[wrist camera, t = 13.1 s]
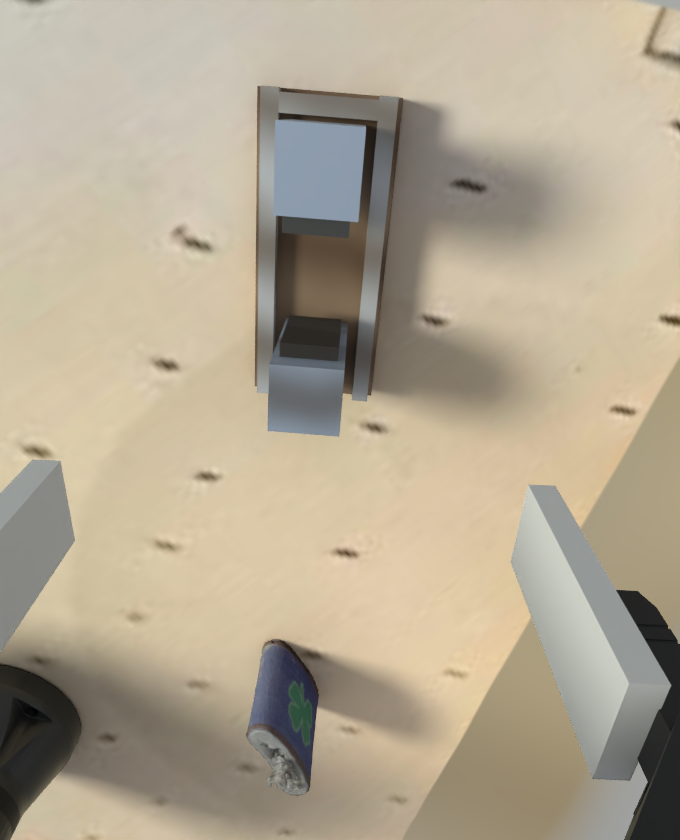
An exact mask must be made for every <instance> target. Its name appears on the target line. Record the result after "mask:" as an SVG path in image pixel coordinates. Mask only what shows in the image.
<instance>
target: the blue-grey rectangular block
mask: <svg viewBox="0 0 680 840" xmlns="http://www.w3.org/2000/svg"><path fill="white" fill-rule="evenodd" d="M365 136H366V126H365V125H358V124H345V123H333V122H321V121H309V120H297V119H287V120H275V156H274V205H273V215H276V216H282V233H290V234H302V235H315V236H327V237H339V238H349V229H350V222H358V219H359V207H360V195H361V183H362V171H363V160H364V148H365Z"/></svg>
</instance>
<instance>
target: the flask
mask: <svg viewBox="0 0 680 840" xmlns="http://www.w3.org/2000/svg"><path fill="white" fill-rule="evenodd" d="M271 641H273V642H274V643H272V642H270V641H268V642H267V643H266V642H265V644H264V646H263V649H262V656H261V660H260V668H259V674H258V680H257V685H256V689H255V697H254V702H253V707H252V712H251V718H250V723H249V726H248V731H247V734H246V736H247V739H248V741H249V742H250V744H251V745H253V746H254V747H255V748H256V750H258V751H259V752H260V753H261V754H262V756H263V757H264V758H265V759H266V760H267V762H268V763H269V764H270V766H271V767H272V769H271V773H272V774H273V775H271V776H269V777H268V779H267V780H268V786H269V787H272V785H271V783H277V787H279V788H280V789H282V790H283V791H284V792H285V793H288V794H290V795H296V796H299V795H303V794H305V793H306V792H308V791H309V788H310V779H311V765H312V753H313V741H314V732H315V721H316V713H317V705H318V698H319V694H318V689H317V686H316V683H315V681H314V679H313V677H312V674H310V672H309V670H308V669H307V668H306V667H305V665H304V663H303V662H302V661H301V659H300V658H299V657H298V656H297V655H296V654H295V652H294V651H293V650H292V648H291V647H290V646H288V645H287V644H285V643H284V642H282V641H281V640H276V639H273V640H271Z"/></svg>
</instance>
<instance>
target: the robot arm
mask: <svg viewBox="0 0 680 840" xmlns="http://www.w3.org/2000/svg"><path fill="white" fill-rule="evenodd" d="M74 541H75V538H74V533H73V527H72V522H71V517H70V511H69V506H68V500H67V495H66V489H65V484H64V478H63V473H62V467H61V462H60V461H51V460H32V461H31V462H30V463H29V464H28V465H27V466H26V467H25V468H24V469H23V470H22V471H21V472H20V473H19V475H18V476H17V477H16V478H15V479H14V480H13V481H12V482H11V483H10V484H9V485H8V486H7V487H6V488H5V489H4V490H3V491H2V492H1V493H0V653H1V651H2V650H3V648H4V647H5V645H6V644H7V642H8V641H9V639H10V638H11V636H12V635H13V633H14V632H15V630H16V629H17V627H18V626H19V624H20V623H21V621H22V619H23V618H24V616H25V615H26V613H27V612H28V610H29V609H30V607H31V606H32V604H33V603H34V601H35V600H36V598H37V597H38V595H39V594H40V592H41V591H42V589H43V588H44V586H45V585H46V583H47V582H48V580H49V579H50V577H51V576H52V574H53V573H54V571H55V570H56V568H57V567H58V565H59V564H60V562H61V561H62V559H63V558H64V556H65V555H66V553H67V552H68V550H69V549H70V547H71V546H72V544H73V543H74ZM511 564H512V567H513V569H514V572H515V574H516V577H517V580H518V582H519V585H520V588H521V590H522V593H523V596H524V598H525V601H526V604H527V606H528V609H529V612H530V614H531V617H532V620H533V622H534V625H535V628H536V630H537V633H538V636H539V638H540V641H541V644H542V646H543V649H544V651H545V654H546V657H547V659H548V662H549V664H550V667H551V670H552V673H553V675H554V678H555V681H556V683H557V686H558V689H559V691H560V694H561V697H562V699H563V702H564V704H565V707H566V710H567V713H568V715H569V718H570V721H571V723H572V726H573V729H574V731H575V734H576V736H577V739H578V741H579V744H580V747H581V750H582V752H583V755H584V758H585V760H586V763H587V766H588V768H589V771H590V774H591V776H592V779H606V780H629V781H630V780H631V778H632V775H633V773H634V771H635V768H636V766H637V764H638V761H639V763H640V765H641V768H642V770H643V772H644V774H645V776H646V778H647V781H648V783H647V785H646V787H645V790H644V791H643V794H642V796H641V798H640V800H639V802H638V805H637V807H636V809H635V811H634V816H633V819H632V822H631V824H630V826H629V829H628V831H627V834H626V836H625V839H624V840H680V644H678V643H677V639H676V637H675V636H674V634H673V633H672V631H671V629H668V625H667V623H666V622H665V620H664V619H663V617H662V616H661V614H660V612H659V611H658V609H657V608H656V607H655V606H654V605H653V604H651V602H649V601H648V600H647V599H646V598H645V597H643V596H642V595H641V594H640V593H639V592H638V591H625V590H616V589H615V588H614V586H613V584H612V583H611V581H610V579H609V578H608V576H607V574H606V572H605V571H604V569H603V567H602V566H601V564H600V562H599V560H598V558H597V557H596V555H595V553H594V552H593V550H592V548H591V546H590V545H589V543H588V541H587V540H586V538H585V536H584V534H583V533H582V531H581V529H580V527H579V526H578V524H577V522H576V521H575V519H574V517H573V515H572V514H571V512H570V510H569V509H568V507H567V505H566V503H565V502H564V500H563V498H562V497H561V495H560V493H559V491H558V490H557V488H556V486H545V485H528V488H527V493H526V497H525V502H524V506H523V510H522V515H521V519H520V523H519V528H518V532H517V537H516V541H515V545H514V550H513V554H512V559H511ZM80 731H81V725H80V720H79V717H78V714H77V712H76V710H75V708H74V707H73V705H72V704H71V703H70V701H69V700H68V699H67V698H66V697H65V696H64V695H63V694H62V693H61V692H60V691H59V690H57V689H56V688H55V687H53V686H52V685H50V684H49V683H47V682H46V681H44V680H42V679H40V678H38V677H36V676H34V675H32V674H30V673H27V672H24V671H22V670H19V669H15V668H12V667H7V666H2V665H0V840H10V839H11V837H12V835H13V833H14V831H15V829H16V827H17V825H18V823H19V821H20V819H21V817H22V815H23V814H24V812H25V811H26V810H27V809H28V808H29V807H30V806H31V804H32V803H33V802H34V801H35V800H36V799H37V797H38V796H39V795H40V794H41V793H42V792H43V790H44V789H45V788H46V787H47V786H48V785H49V784H50V782H51V781H52V780H53V779H54V778H55V777H56V775H57V774H58V773H59V772H60V771H61V770H62V768H63V767H64V766H65V765H66V763H67V762H68V760H69V759H70V757H71V754H72V752H73V750H74V748H75V746H76V744H77V741H78V739H79V736H80Z"/></svg>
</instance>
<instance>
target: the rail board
mask: <svg viewBox="0 0 680 840" xmlns="http://www.w3.org/2000/svg"><path fill="white" fill-rule="evenodd" d="M402 105H403V98H399V97H390V96H370V95H359V94H347V93H335V92H323V91H311V90H299V89H287V88H280V87H271V86H258V98H257V211H256V325H255V386H257V392H258V393H268V431H277V432H289V433H302V434H314V435H326V436H339V431H340V419H341V408H342V396H343V393H346V394H352V400H356V401H367V395H371V391H372V381H373V372H374V363H375V354H376V344H377V335H378V326H379V317H380V308H381V298H382V289H383V280H384V271H385V262H386V252H387V243H388V234H389V225H390V216H391V206H392V197H393V188H394V179H395V170H396V160H397V151H398V142H399V133H400V123H401V114H402ZM287 119H297V120H309V121H321V122H333V123H345V124H358V125H365V126H366V136H365V148H364V160H363V171H362V183H361V195H360V207H359V219H358V222H350V229H349V238H339V237H327V236H315V235H302V234H290V233H282V216H276V215H273V205H274V156H275V120H287Z"/></svg>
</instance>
